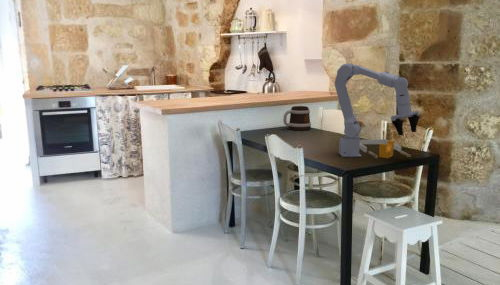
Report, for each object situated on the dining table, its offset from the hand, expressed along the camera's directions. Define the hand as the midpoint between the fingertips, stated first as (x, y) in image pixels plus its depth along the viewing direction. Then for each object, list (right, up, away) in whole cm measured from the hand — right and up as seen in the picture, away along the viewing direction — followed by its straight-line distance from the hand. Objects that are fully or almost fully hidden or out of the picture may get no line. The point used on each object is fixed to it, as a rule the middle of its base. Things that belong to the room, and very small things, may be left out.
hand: (407, 133), depth 199 cm
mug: (-41, +4, +89) cm, 98 cm away
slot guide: (-5, -10, +12) cm, 16 cm away
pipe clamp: (-5, -11, +12) cm, 17 cm away
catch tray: (-6, -7, +29) cm, 31 cm away
